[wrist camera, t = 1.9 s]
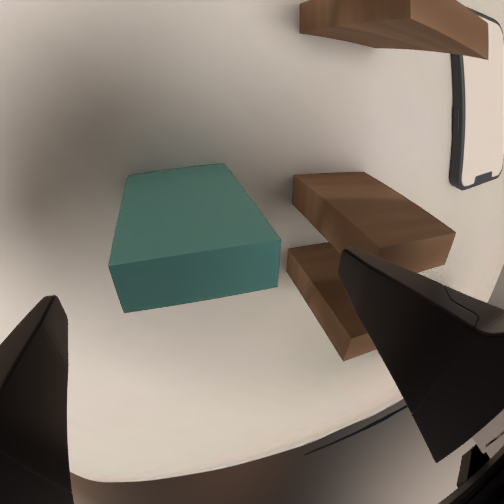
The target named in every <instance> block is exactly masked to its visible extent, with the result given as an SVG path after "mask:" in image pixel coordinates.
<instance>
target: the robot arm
mask: <svg viewBox="0 0 504 504" xmlns="http://www.w3.org/2000/svg"><path fill="white" fill-rule="evenodd" d="M338 275H339V278H340V280H341V282H342V284H343V286H344V289H345V291H346V293H347V295H348V297H349V299H350V301H351V304H352V306H353V308H354V310H355V312H356V314H357V316H358V317H359V319H360V321H361V323H362V324H363V326H364V328H365V329H366V331H367V333H368V335H369V336H370V338H371V340H372V342H373V343H374V345H375V347H376V349H377V350H378V352H379V354H380V356H381V357H382V359H383V361H384V363H385V365H386V366H387V368H388V370H389V372H390V374H391V376H392V377H393V379H394V381H395V383H396V385H397V387H398V389H399V390H400V392H401V394H402V396H403V398H404V400H405V402H406V404H407V406H408V408H409V409H410V411H411V413H412V416H413V418H414V419H415V422H416V423H417V426H418V427H419V430H420V432H421V434H422V436H423V438H424V440H425V442H426V444H427V446H428V448H429V450H430V452H431V454H432V456H433V459H434V460H435V462H436V463H437V462H439V461H440V460H442V459H443V458H445V457H446V456H447V455H449V454H450V453H452V452H453V451H454V450H456V449H457V448H459V447H460V446H461V445H463V444H464V443H465V442H466V441H468V440H469V439H470V438H471V437H472V438H473V440H474V441H475V443H476V445H475V446H474V447H472V448H471V449H470V450H469V451H468V452H466V453H465V454H464V455H463V456H462V460H461V466H460V472H459V476H458V481H457V487H458V489H456V490H455V491H454V492H453V493H451V494H450V495H449V496H448V497H446V498H445V499H444V500H442V501H441V502H440V503H439V504H504V310H503V309H501V308H498V307H496V306H493V305H491V304H488V303H486V302H483V301H480V300H478V299H475V298H473V297H470V296H468V295H465V294H463V293H461V292H459V291H456V290H454V289H452V288H449V287H447V286H445V285H444V286H443V285H442V284H440V283H438V282H436V281H434V280H431V279H429V278H427V277H425V276H422V275H420V274H418V273H415V272H413V271H411V270H408V269H406V268H404V267H401V266H399V265H397V264H394V263H392V262H389V261H387V260H385V259H382V258H380V257H377V256H375V255H373V254H370V253H368V252H365V251H363V250H360V249H358V248H355V247H350V248H345V249H343V250H342V252H341V256H340V261H339V266H338ZM67 384H68V319H67V315H66V313H65V311H64V309H63V307H62V305H61V303H60V301H59V299H58V297H57V296H55V295H52V296H46V297H44V298H43V299H42V300H41V301H40V302H39V303H38V304H37V305H36V306H35V307H34V308H33V309H32V310H31V311H30V312H29V313H28V314H27V315H26V317H25V318H24V319H23V320H22V321H21V322H20V323H19V324H18V325H17V326H16V328H15V329H14V330H13V331H12V332H11V333H10V334H9V335H8V337H7V338H6V339H5V340H4V341H3V342H2V344H1V345H0V504H74V502H73V495H72V493H71V492H72V489H71V480H70V471H69V459H68V442H67Z"/></svg>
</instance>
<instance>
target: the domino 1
mask: <svg viewBox="0 0 504 504" xmlns="http://www.w3.org/2000/svg"><path fill="white" fill-rule="evenodd" d="M280 246H281V239H280V237H279V236H278V235H277V233H276V232H275V231H274V229H273V228H272V226H271V225H270V224H269V222H268V221H267V220H266V218H265V217H264V216H263V214H262V213H261V212H260V210H259V209H258V207H257V206H256V205H255V203H254V202H253V201H252V199H251V198H250V197H249V195H248V194H247V193H246V191H245V190H244V189H243V187H242V186H241V185H240V183H239V182H238V181H237V179H236V178H235V177H234V175H233V174H232V173H231V171H230V170H229V169H228V167H227V166H226V165H225V164H224V163H222V164H212V165H202V166H194V167H185V168H177V169H170V170H163V171H156V172H149V173H142V174H136V175H130V176H128V180H127V184H126V188H125V191H124V195H123V199H122V203H121V207H120V212H119V216H118V220H117V225H116V230H115V234H114V239H113V244H112V249H111V255H110V260H109V270H110V273H111V276H112V279H113V282H114V285H115V288H116V291H117V294H118V297H119V300H120V303H121V306H122V309H123V311H124V313H128V312H135V311H142V310H148V309H155V308H161V307H167V306H174V305H180V304H186V303H192V302H198V301H203V300H209V299H215V298H221V297H226V296H232V295H237V294H243V293H248V292H253V291H259V290H264V289H269V288H274V287H278V274H279V260H280Z"/></svg>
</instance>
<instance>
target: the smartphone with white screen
mask: <svg viewBox="0 0 504 504" xmlns="http://www.w3.org/2000/svg"><path fill="white" fill-rule="evenodd" d="M467 8H468V7H467ZM468 9H470V8H468ZM470 10H471V11H472V12H474V13H475V14H476V15H478V16H479V17H480V18H482V19H483V20H484V21H486V22H487V23H488V34H489V55H488V60H486V59H481V58H475V57H470V56H464V55H458V54H451V53H450V54H451V67H452V89H453V124H452V146H451V160H450V172H449V180H450V183H451V184H452V185H453V186H455V187H456V188H458V189H460V190H466V189H469V188H471V187H474V186H477V185H480V184H482V183H485V182H488V181H491V180H494V179H496V178H498V177H499V175H500V174H501V171H502V168H503V161H504V38H503V32H502V29H501V26H500V24H499V23H498V22H497V21H496V20H495V19H493V18H491V17H488V16H486V15H484V14H482V13H480V12H477V11H475V10H473V9H470Z"/></svg>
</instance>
